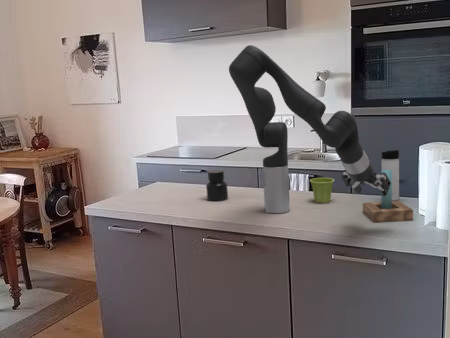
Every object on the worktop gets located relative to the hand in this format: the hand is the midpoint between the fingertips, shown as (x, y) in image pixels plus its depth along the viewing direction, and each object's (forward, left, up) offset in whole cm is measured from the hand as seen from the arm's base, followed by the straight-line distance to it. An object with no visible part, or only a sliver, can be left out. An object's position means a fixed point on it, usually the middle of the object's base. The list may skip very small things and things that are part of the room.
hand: (372, 192), depth 158 cm
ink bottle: (-52, +50, -11) cm, 73 cm away
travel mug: (+15, +29, -11) cm, 35 cm away
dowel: (+7, +9, -11) cm, 16 cm away
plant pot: (-10, +35, -11) cm, 38 cm away
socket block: (+7, +9, -11) cm, 16 cm away
